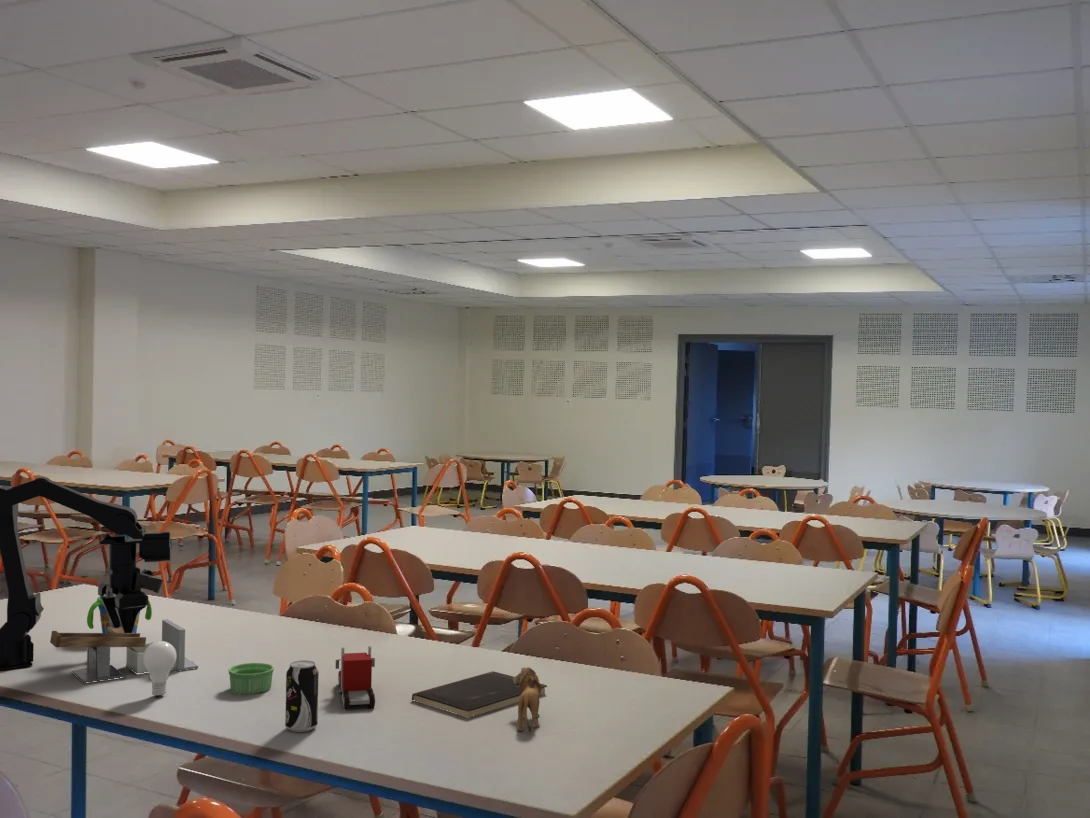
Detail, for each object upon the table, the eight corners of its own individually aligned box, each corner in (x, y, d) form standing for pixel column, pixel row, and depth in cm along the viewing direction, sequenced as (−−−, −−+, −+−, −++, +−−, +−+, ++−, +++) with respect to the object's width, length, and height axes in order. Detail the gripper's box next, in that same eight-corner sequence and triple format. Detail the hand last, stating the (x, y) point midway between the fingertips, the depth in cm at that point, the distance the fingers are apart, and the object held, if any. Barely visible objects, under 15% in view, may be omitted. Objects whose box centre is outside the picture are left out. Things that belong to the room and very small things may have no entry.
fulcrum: (83, 684, 209) (84, 649, 209) (72, 673, 217) (72, 640, 217) (124, 678, 214) (124, 644, 214) (111, 667, 222) (111, 635, 221)
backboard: (178, 671, 220) (179, 630, 220) (161, 659, 229) (162, 619, 229) (198, 668, 222) (198, 627, 222) (180, 656, 232) (180, 617, 232)
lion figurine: (511, 710, 197) (512, 664, 197) (538, 710, 198) (539, 664, 198) (517, 735, 183) (518, 686, 183) (546, 735, 183) (547, 685, 183)
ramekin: (281, 685, 211) (282, 664, 211) (258, 697, 202) (258, 675, 202) (243, 681, 213) (244, 660, 213) (219, 693, 205) (219, 671, 205)
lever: (56, 650, 207) (58, 636, 207) (35, 631, 222) (37, 618, 222) (145, 649, 218) (147, 636, 218) (120, 632, 233) (122, 620, 233)
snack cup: (142, 629, 258) (143, 589, 257) (159, 637, 250) (160, 596, 250) (78, 638, 247) (79, 597, 247) (94, 646, 239) (95, 604, 239)
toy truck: (371, 682, 215) (372, 636, 215) (380, 710, 196) (381, 659, 196) (333, 684, 213) (334, 637, 213) (338, 713, 194) (339, 661, 194)
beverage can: (279, 728, 184) (280, 662, 184) (306, 721, 188) (308, 657, 188) (295, 736, 180) (297, 669, 180) (323, 729, 184) (324, 663, 184)
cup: (137, 675, 216) (137, 654, 216) (126, 666, 223) (126, 646, 223) (176, 669, 221) (176, 648, 221) (164, 661, 228) (164, 641, 228)
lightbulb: (140, 702, 198) (141, 646, 197) (143, 692, 204) (144, 638, 204) (174, 700, 199) (175, 644, 199) (177, 690, 205) (178, 637, 205)
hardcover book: (546, 696, 209) (547, 685, 209) (468, 721, 192) (468, 709, 192) (490, 681, 219) (491, 670, 219) (411, 704, 202) (411, 692, 202)
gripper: (172, 565, 225) (171, 635, 226) (147, 554, 240) (146, 619, 240) (120, 570, 219) (119, 642, 219) (97, 558, 233) (97, 625, 234)
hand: (122, 631), depth 228 cm, fingers open, 9 cm apart
